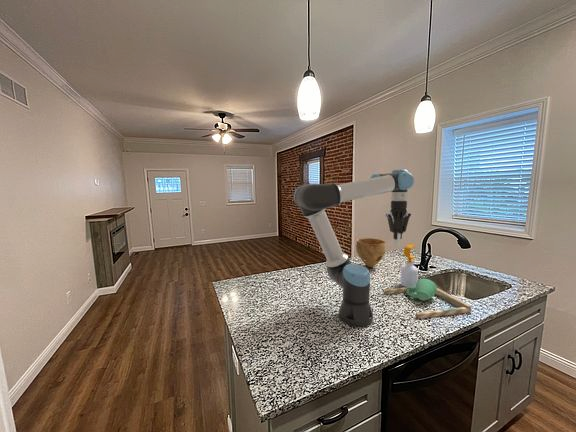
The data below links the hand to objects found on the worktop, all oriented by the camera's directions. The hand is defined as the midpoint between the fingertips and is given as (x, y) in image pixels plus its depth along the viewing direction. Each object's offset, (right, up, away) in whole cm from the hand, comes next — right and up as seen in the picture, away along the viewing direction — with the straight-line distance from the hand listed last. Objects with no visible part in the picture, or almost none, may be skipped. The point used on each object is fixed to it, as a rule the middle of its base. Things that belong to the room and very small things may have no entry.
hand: (397, 245), depth 129 cm
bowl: (+3, -22, +51) cm, 56 cm away
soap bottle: (+15, -26, +18) cm, 35 cm away
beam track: (+13, -29, -3) cm, 31 cm away
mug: (+9, -26, -3) cm, 28 cm away
